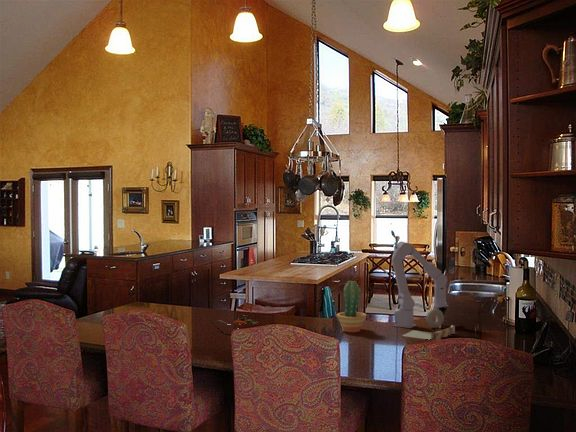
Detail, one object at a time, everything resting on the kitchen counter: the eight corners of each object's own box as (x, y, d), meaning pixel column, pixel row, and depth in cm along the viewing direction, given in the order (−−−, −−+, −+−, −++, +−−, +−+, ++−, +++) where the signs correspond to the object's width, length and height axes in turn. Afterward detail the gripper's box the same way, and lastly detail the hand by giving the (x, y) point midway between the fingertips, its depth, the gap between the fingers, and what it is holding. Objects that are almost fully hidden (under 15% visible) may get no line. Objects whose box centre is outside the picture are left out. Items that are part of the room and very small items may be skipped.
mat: (401, 336, 258) (401, 335, 258) (413, 330, 269) (413, 330, 269) (429, 340, 250) (429, 339, 250) (440, 334, 261) (440, 333, 261)
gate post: (450, 334, 259) (450, 325, 259) (451, 334, 261) (451, 325, 261) (454, 335, 258) (454, 326, 258) (455, 334, 260) (455, 325, 260)
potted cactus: (371, 328, 275) (371, 280, 275) (358, 334, 262) (357, 284, 262) (345, 325, 284) (344, 278, 283) (330, 331, 271) (330, 282, 270)
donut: (428, 329, 272) (428, 309, 272) (424, 328, 275) (424, 308, 275) (445, 327, 275) (445, 308, 275) (441, 326, 278) (441, 307, 278)
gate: (434, 341, 245) (434, 333, 245) (431, 340, 246) (431, 333, 246) (452, 334, 258) (452, 327, 258) (450, 333, 259) (450, 327, 259)
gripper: (442, 298, 273) (443, 325, 273) (452, 294, 285) (452, 320, 285) (429, 297, 277) (429, 323, 277) (439, 293, 289) (439, 318, 289)
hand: (440, 321), depth 281 cm, fingers closed
